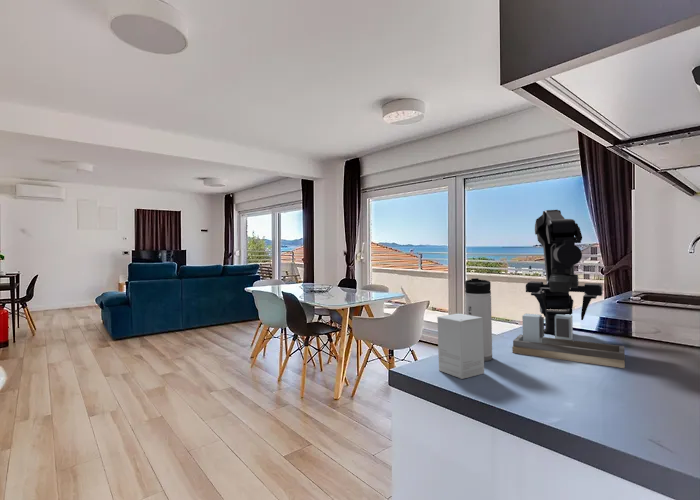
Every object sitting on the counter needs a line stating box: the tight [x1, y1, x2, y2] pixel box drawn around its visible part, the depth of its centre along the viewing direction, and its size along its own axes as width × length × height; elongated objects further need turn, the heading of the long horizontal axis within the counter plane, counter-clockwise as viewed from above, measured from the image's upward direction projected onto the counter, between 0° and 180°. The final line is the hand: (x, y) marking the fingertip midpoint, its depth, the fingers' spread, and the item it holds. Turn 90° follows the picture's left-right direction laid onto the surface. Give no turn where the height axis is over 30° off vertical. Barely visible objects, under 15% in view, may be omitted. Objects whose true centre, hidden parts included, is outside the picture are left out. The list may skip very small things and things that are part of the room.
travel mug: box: [464, 277, 493, 362], centre depth 96 cm, size 6×7×20 cm
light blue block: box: [554, 314, 574, 340], centre depth 107 cm, size 5×4×8 cm
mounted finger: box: [521, 313, 545, 343], centre depth 101 cm, size 4×5×8 cm
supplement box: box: [437, 313, 485, 380], centre depth 85 cm, size 7×7×13 cm
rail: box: [511, 334, 626, 369], centre depth 97 cm, size 10×24×3 cm, turn 54°
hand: (563, 318), depth 107 cm, fingers open, 9 cm apart
